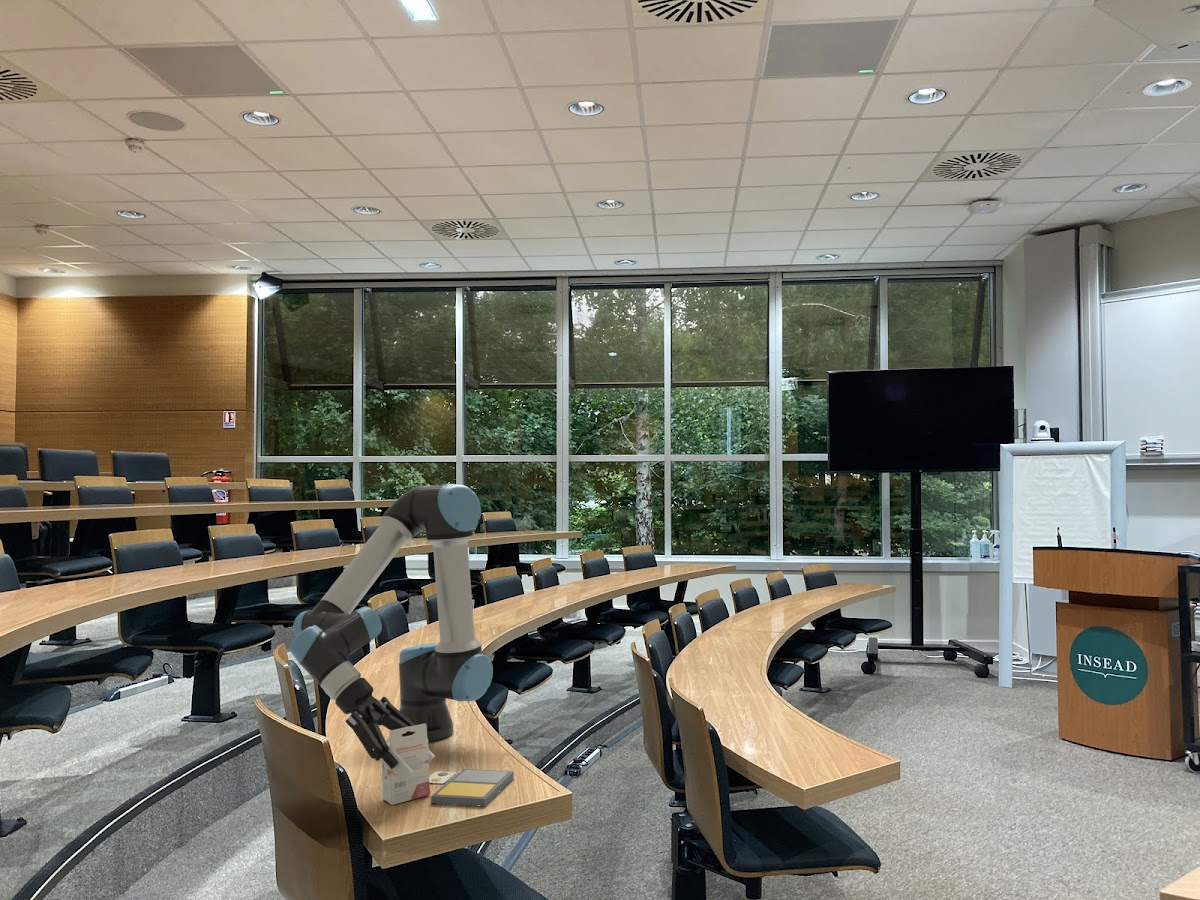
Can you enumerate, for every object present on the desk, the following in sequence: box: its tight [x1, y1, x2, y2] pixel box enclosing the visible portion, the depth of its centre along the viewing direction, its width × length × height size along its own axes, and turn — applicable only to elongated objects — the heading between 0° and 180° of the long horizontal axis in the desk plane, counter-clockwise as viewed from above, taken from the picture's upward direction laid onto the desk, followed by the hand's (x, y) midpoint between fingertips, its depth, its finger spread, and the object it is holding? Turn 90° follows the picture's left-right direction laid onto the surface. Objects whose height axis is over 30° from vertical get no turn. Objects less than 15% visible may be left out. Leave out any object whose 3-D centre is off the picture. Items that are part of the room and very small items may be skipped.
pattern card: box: [429, 770, 458, 785], centre depth 182 cm, size 7×5×1 cm
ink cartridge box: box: [381, 723, 431, 806], centre depth 171 cm, size 9×5×15 cm, turn 126°
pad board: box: [430, 768, 515, 807], centre depth 174 cm, size 17×12×2 cm
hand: (419, 768), depth 171 cm, fingers closed on ink cartridge box, 9 cm apart
